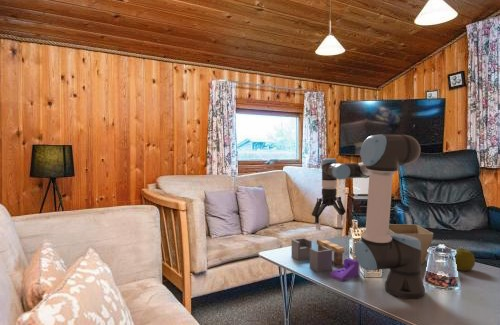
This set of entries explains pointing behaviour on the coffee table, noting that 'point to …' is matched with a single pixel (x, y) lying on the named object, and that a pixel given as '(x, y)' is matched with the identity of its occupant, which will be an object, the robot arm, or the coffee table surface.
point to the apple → (464, 260)
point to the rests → (337, 257)
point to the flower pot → (414, 235)
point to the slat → (330, 246)
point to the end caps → (312, 254)
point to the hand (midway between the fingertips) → (328, 228)
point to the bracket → (346, 270)
